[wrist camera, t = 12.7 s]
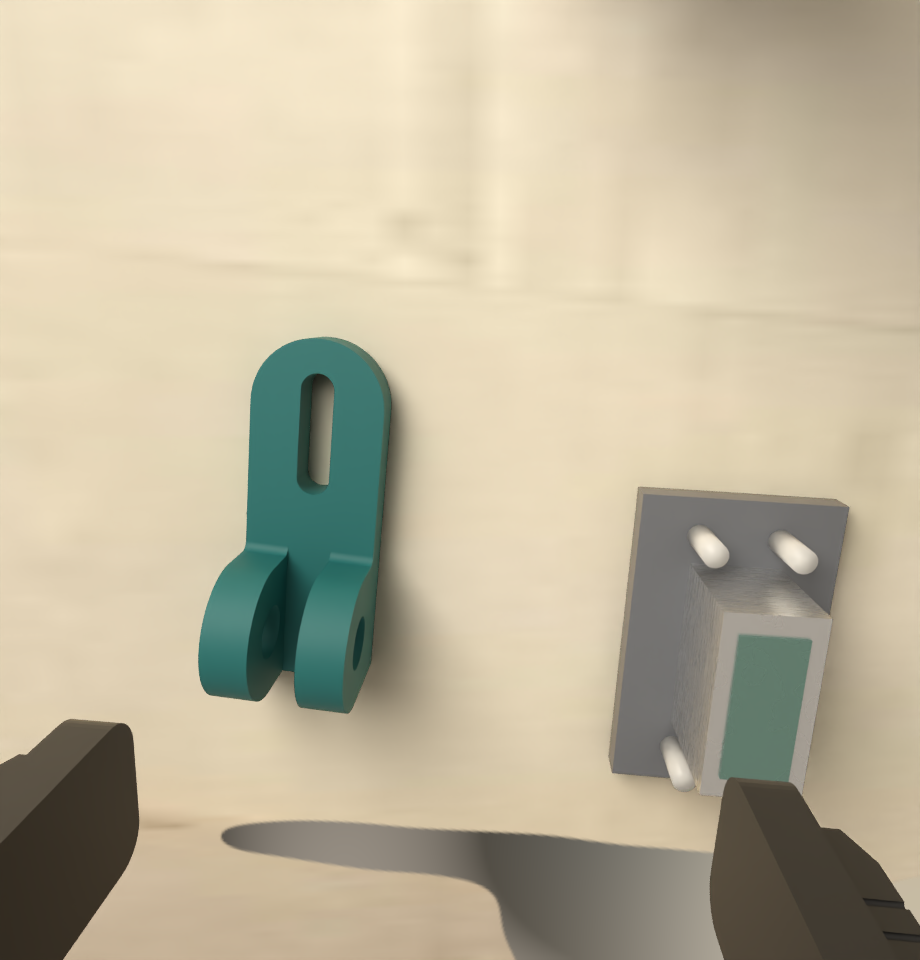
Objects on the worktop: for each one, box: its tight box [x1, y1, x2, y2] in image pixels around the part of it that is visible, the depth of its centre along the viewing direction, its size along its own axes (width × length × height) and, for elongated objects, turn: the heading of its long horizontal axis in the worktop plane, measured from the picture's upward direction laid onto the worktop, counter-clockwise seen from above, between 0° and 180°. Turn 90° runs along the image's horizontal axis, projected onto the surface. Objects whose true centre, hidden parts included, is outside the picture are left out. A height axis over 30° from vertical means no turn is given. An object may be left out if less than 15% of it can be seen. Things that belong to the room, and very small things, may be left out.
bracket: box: [198, 337, 391, 714], centre depth 35 cm, size 18×7×8 cm, turn 174°
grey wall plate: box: [609, 487, 849, 792], centre depth 36 cm, size 16×10×4 cm, turn 177°
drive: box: [671, 564, 833, 797], centre depth 34 cm, size 9×4×6 cm, turn 178°
